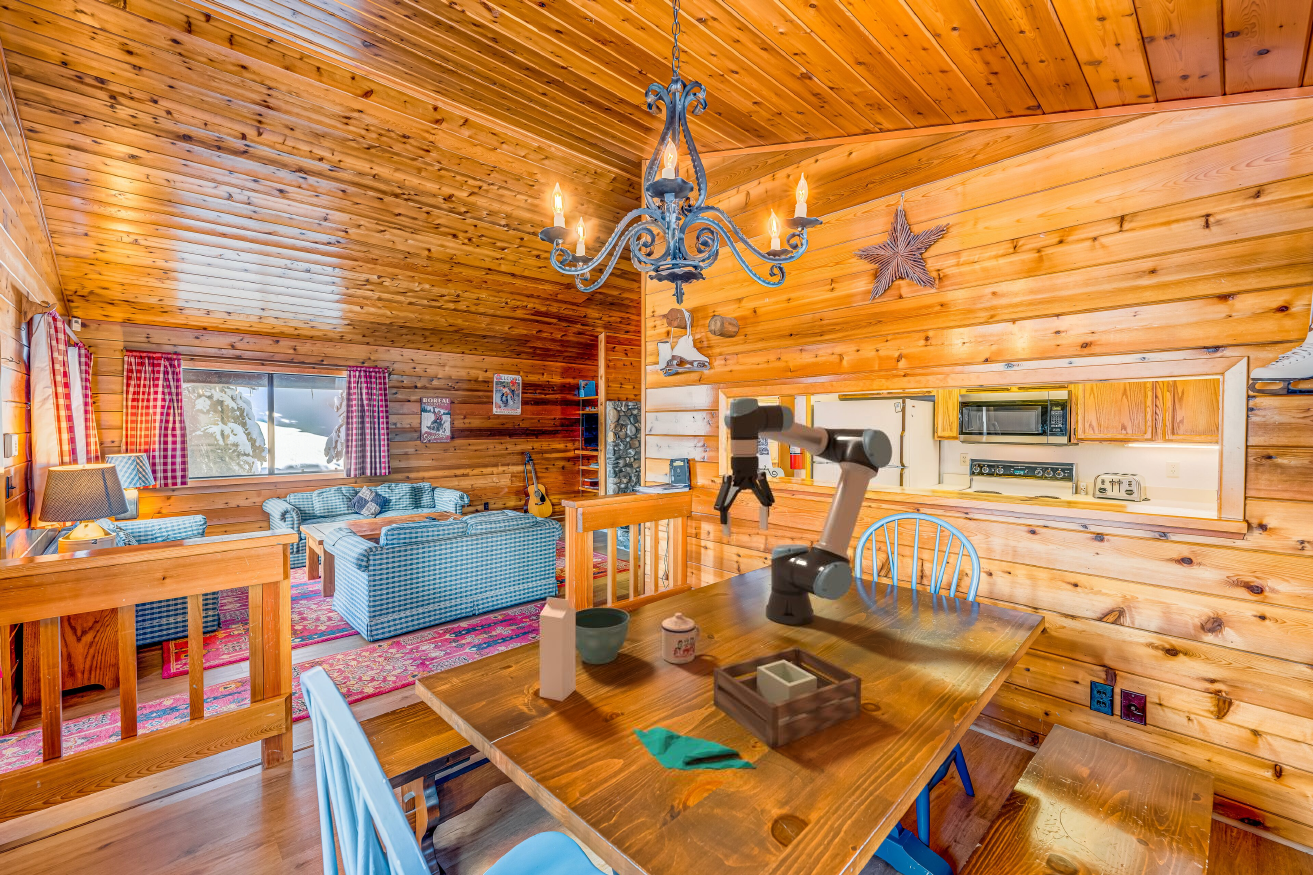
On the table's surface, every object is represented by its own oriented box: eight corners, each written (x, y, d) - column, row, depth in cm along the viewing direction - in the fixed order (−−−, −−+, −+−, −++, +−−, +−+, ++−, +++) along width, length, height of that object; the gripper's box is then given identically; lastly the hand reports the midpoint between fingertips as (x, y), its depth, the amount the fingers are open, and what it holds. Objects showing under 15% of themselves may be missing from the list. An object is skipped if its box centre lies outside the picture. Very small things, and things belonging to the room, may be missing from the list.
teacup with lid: (675, 667, 138) (675, 622, 138) (654, 655, 145) (654, 612, 145) (710, 656, 145) (711, 613, 145) (689, 644, 152) (689, 603, 152)
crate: (796, 678, 133) (797, 645, 132) (860, 714, 116) (861, 677, 116) (713, 704, 120) (713, 668, 120) (771, 749, 104) (772, 707, 103)
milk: (553, 685, 129) (553, 592, 128) (575, 689, 126) (576, 595, 126) (539, 697, 123) (539, 600, 122) (562, 702, 121) (562, 603, 120)
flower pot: (556, 656, 144) (556, 616, 144) (603, 639, 155) (603, 602, 155) (593, 677, 132) (593, 633, 132) (641, 657, 144) (642, 617, 144)
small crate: (783, 689, 124) (783, 659, 124) (816, 709, 116) (816, 677, 116) (756, 698, 120) (757, 667, 120) (788, 719, 112) (789, 686, 112)
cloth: (612, 743, 106) (612, 732, 106) (657, 714, 117) (657, 704, 117) (724, 804, 90) (724, 790, 90) (765, 764, 100) (765, 752, 100)
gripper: (767, 452, 157) (768, 524, 158) (699, 457, 143) (701, 536, 144) (787, 453, 151) (788, 528, 151) (717, 458, 137) (719, 541, 138)
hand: (745, 532), depth 148 cm, fingers open, 13 cm apart
